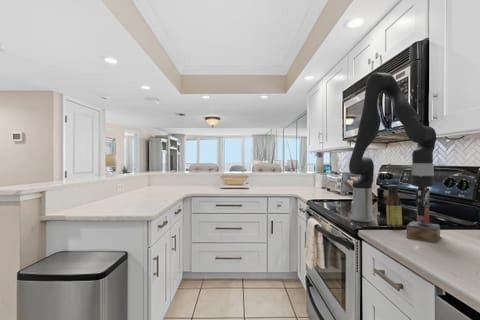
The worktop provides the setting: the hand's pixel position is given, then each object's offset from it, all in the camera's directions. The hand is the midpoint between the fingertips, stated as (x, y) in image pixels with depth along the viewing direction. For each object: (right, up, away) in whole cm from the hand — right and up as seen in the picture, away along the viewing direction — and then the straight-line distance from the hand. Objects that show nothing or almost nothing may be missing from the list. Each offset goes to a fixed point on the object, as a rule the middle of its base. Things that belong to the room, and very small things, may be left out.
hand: (422, 214), depth 110 cm
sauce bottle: (-3, -10, +16) cm, 19 cm away
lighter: (0, -3, 0) cm, 3 cm away
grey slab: (0, -9, 0) cm, 9 cm away
